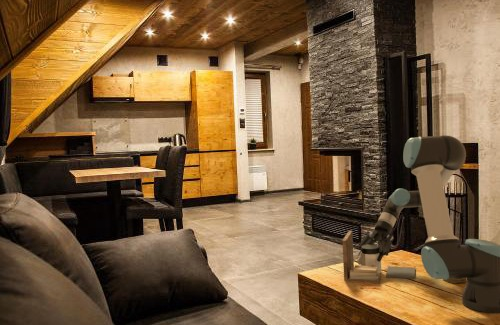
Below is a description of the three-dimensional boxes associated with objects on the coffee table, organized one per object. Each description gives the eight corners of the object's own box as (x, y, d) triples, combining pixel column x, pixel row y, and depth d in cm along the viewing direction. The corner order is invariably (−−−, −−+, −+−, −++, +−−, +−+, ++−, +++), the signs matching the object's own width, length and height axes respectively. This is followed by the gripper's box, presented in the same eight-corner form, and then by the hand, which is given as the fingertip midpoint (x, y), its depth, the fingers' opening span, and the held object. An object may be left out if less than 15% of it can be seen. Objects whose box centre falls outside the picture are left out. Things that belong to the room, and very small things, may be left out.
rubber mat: (414, 279, 186) (414, 277, 186) (385, 277, 190) (385, 275, 190) (415, 269, 199) (415, 267, 199) (388, 267, 203) (387, 266, 203)
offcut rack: (379, 283, 183) (377, 241, 182) (344, 280, 188) (342, 240, 187) (383, 269, 201) (381, 231, 200) (350, 267, 206) (349, 230, 206)
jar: (368, 268, 204) (367, 243, 203) (384, 271, 198) (383, 245, 198) (358, 272, 198) (357, 247, 197) (373, 276, 192) (372, 250, 191)
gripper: (408, 231, 199) (389, 274, 190) (370, 226, 215) (351, 264, 206) (401, 222, 195) (381, 264, 186) (363, 217, 211) (344, 256, 202)
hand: (366, 264), depth 196 cm, fingers closed on jar, 8 cm apart
